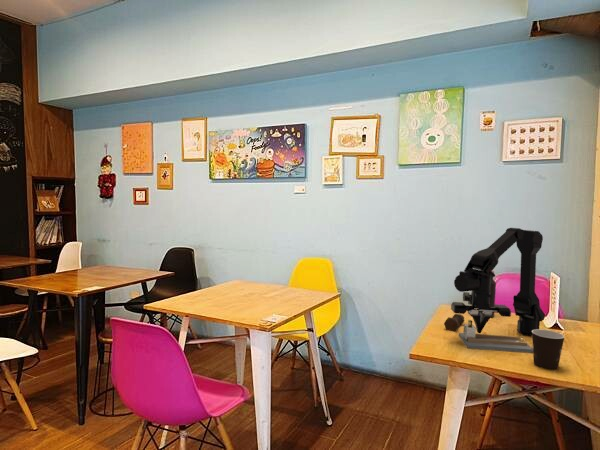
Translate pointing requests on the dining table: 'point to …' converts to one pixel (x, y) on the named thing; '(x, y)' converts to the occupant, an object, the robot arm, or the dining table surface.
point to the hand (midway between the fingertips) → (478, 333)
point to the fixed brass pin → (521, 339)
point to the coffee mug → (547, 348)
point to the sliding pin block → (469, 330)
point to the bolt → (454, 322)
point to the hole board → (496, 343)
